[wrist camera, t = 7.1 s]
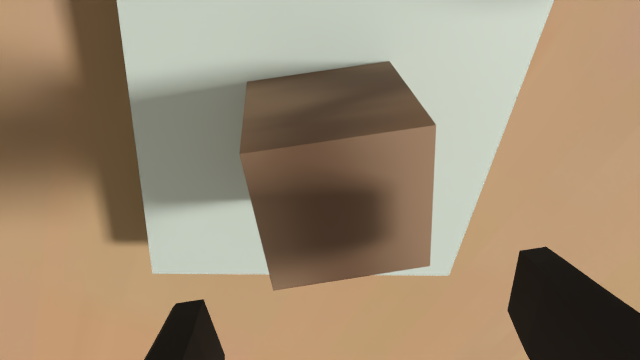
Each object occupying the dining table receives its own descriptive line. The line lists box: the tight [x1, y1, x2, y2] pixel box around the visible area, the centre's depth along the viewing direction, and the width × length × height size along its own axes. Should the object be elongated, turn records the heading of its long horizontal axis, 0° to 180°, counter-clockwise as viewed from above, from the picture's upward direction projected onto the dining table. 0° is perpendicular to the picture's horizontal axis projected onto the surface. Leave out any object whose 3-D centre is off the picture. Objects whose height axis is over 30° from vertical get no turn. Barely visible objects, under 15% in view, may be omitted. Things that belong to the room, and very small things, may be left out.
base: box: [117, 0, 554, 276], centre depth 18 cm, size 14×14×2 cm
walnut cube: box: [239, 61, 436, 291], centre depth 14 cm, size 5×5×5 cm
